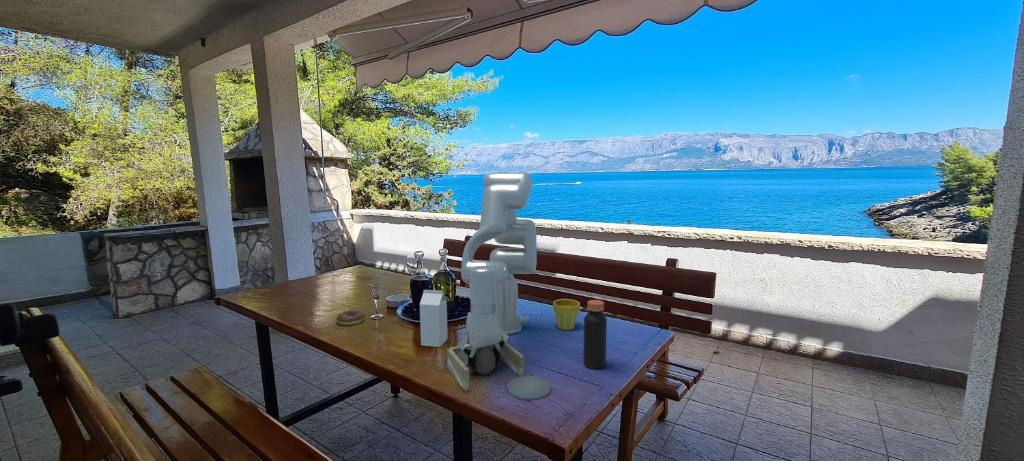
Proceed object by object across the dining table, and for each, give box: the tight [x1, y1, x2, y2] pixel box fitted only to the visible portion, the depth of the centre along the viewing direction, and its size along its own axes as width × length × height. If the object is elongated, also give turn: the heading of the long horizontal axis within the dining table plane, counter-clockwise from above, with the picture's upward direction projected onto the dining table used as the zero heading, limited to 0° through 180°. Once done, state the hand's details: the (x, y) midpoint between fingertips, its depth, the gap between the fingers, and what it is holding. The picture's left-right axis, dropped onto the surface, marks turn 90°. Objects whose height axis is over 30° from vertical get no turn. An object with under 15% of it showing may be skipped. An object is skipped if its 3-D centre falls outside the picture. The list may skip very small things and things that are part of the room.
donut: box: [336, 309, 366, 326], centre depth 165 cm, size 11×11×4 cm
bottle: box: [582, 299, 608, 370], centre depth 125 cm, size 7×7×20 cm
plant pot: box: [552, 298, 581, 331], centre depth 158 cm, size 10×10×10 cm
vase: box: [474, 346, 496, 375], centre depth 121 cm, size 7×7×9 cm
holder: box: [445, 341, 525, 392], centre depth 121 cm, size 18×16×6 cm
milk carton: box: [419, 289, 448, 348], centre depth 142 cm, size 7×7×19 cm
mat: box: [506, 375, 552, 401], centre depth 112 cm, size 12×12×1 cm
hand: (484, 364), depth 122 cm, fingers closed on vase, 6 cm apart
